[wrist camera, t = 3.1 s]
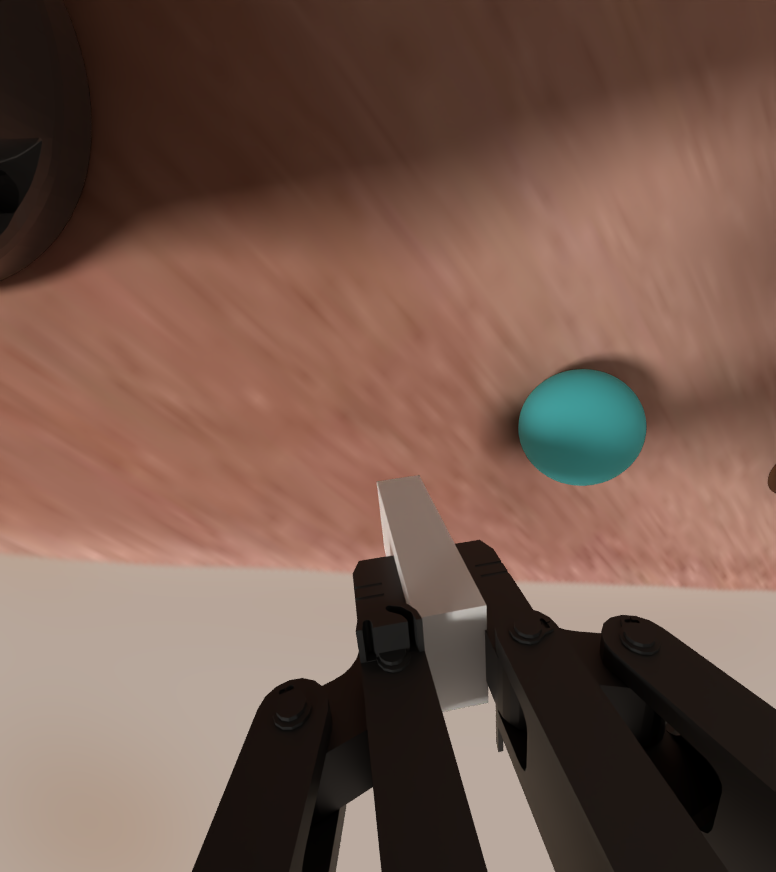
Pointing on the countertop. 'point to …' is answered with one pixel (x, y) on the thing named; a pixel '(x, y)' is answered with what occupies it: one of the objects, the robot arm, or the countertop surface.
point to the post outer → (772, 479)
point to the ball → (582, 427)
